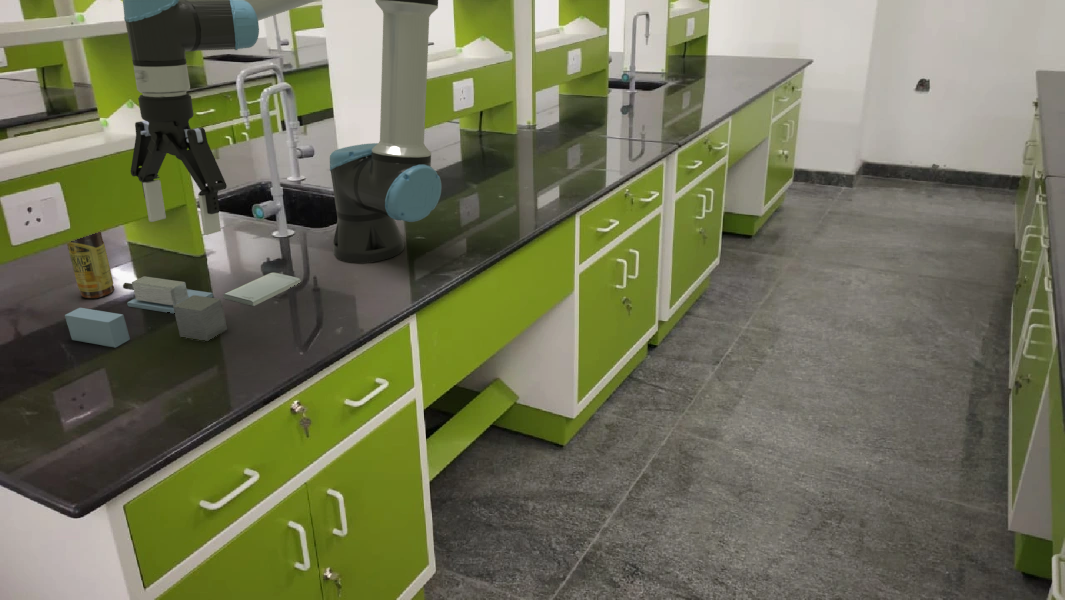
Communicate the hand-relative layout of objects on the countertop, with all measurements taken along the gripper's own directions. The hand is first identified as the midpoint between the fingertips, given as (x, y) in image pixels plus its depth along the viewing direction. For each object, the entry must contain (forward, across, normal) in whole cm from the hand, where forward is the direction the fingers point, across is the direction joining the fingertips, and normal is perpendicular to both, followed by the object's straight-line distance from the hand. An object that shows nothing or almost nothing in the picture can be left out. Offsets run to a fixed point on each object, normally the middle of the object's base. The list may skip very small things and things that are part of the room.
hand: (184, 226), depth 132 cm
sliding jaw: (+19, -21, +6) cm, 29 cm away
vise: (+21, -18, +1) cm, 27 cm away
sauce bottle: (+21, -36, +4) cm, 42 cm away
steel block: (+20, -2, +2) cm, 21 cm away
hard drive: (+20, -7, +20) cm, 30 cm away
